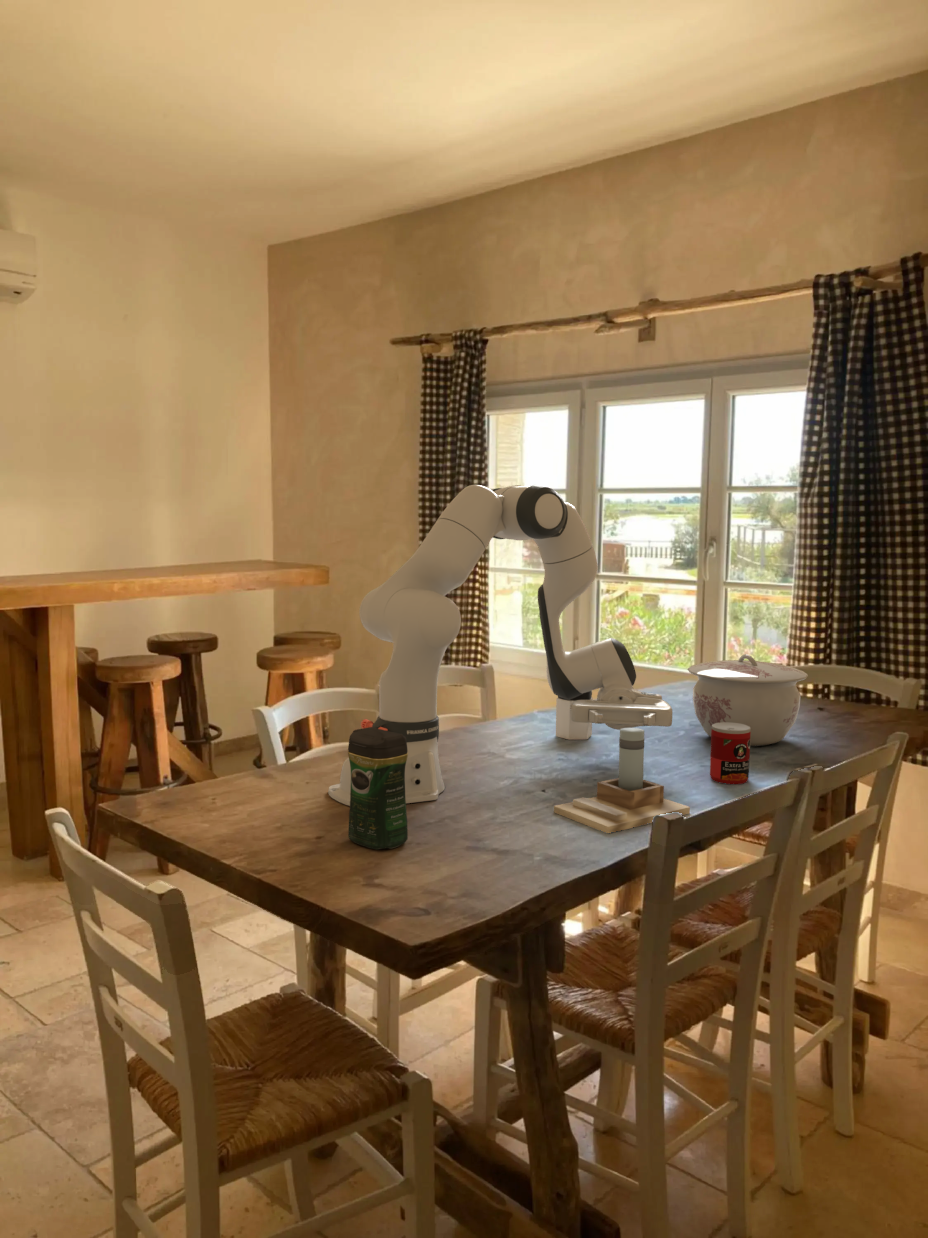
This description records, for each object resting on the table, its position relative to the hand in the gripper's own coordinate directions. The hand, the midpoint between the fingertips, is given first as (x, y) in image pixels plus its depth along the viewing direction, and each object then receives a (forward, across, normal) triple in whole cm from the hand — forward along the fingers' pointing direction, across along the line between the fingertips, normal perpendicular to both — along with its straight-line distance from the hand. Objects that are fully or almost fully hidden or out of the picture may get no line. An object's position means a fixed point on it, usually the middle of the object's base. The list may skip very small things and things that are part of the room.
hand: (623, 720), depth 189 cm
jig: (+17, -1, +13) cm, 22 cm away
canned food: (-8, +22, +13) cm, 27 cm away
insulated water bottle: (+13, +1, +12) cm, 18 cm away
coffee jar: (+38, -41, +14) cm, 58 cm away
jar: (-42, -9, +13) cm, 45 cm away
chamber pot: (-44, +32, +12) cm, 56 cm away
